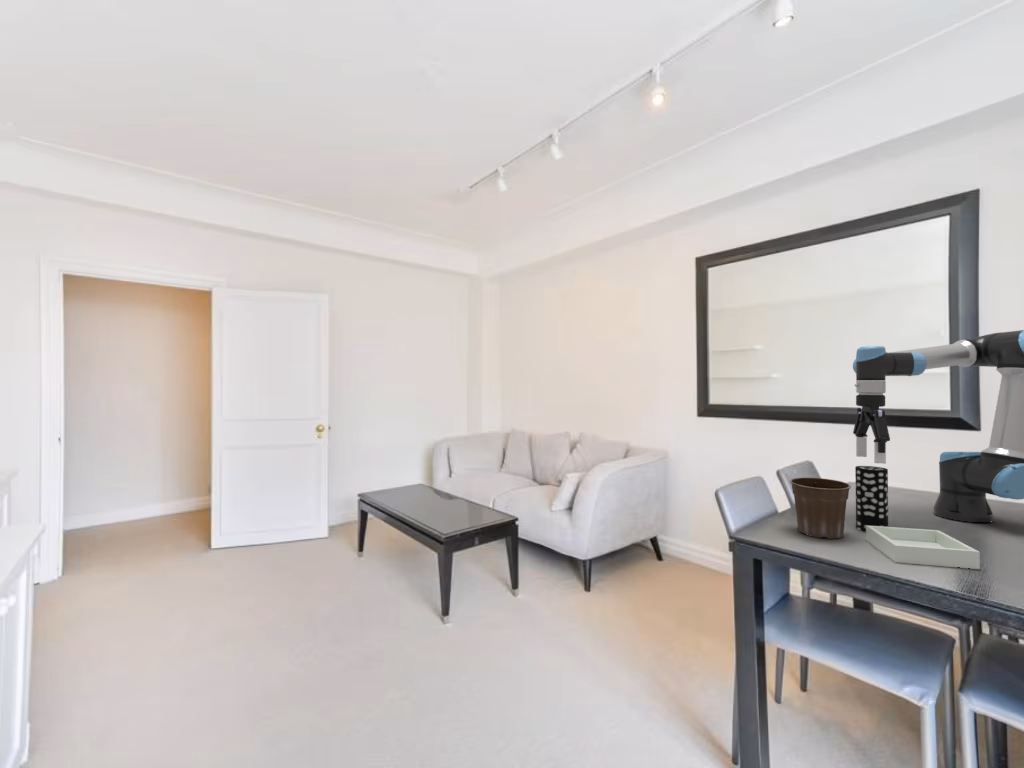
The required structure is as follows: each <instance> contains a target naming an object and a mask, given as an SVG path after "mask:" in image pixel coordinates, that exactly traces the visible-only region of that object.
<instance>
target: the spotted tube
mask: <svg viewBox="0 0 1024 768" xmlns="http://www.w3.org/2000/svg"><path fill="white" fill-rule="evenodd" d="M854 469H855V471H854V472H855V473H854V474H855V528H856V529H857V530H859V531H861V532H865V533H866V525H867V526H882V527H889V469H888V468H886V467H881V466H875V465H874V466H873V465H871V466H870V465H856V466H855V468H854Z"/></svg>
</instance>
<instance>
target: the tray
mask: <svg viewBox="0 0 1024 768" xmlns="http://www.w3.org/2000/svg"><path fill="white" fill-rule="evenodd" d="M865 541H866V542H868V543H869V544H870V545H872V546H873V547H874V548H876V549H877V550H878V551H879V552H881V553H883V554H884V555H885V556H887V558H889V559H891V561H893V562H895V563H899V564H901V563H902V564H912V565H913V564H914V565H921V566H922V565H923V566H933V567H934V566H935V567H947V568H948V567H949V568H957V567H960V569H968V568H970V570H980V567H981V566H980V563H981V562H980V561H981V560H980V555H981V554H980V553H981V552H980V551H979V550H977V549H976V548H973V547H971V546H970V545H967V544H965V543H963V542H961V540H958V539H957V538H954V537H953V536H951V535H948V534H947V533H944V532H943V531H941V530H939V529H927V528H926V529H923V528H910V527H909V528H907V527H894V526H888V527H882V526H867V525H866V532H865Z"/></svg>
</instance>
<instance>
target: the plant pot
mask: <svg viewBox="0 0 1024 768" xmlns="http://www.w3.org/2000/svg"><path fill="white" fill-rule="evenodd" d="M789 483H790V484H791V489H792V494H793V495H794V496H793V497H794V505H795V515H796V523H797V530H798V531H799V533H801V532H802V533H801V534H803V533H805V534H808V535H811V536H810V537H812V536H815V537H814V538H817V537H819V538H818V539H822V538H826V539H828V540H836V539H837V538H838V539H840V538H843V537H844V533H845V522H846V508H847V502H848V501H847V500H848V499H849V492H850V489H851V488H852V485H850V483H847V482H844V481H842V480H841V481H840V480H836V479H830V478H823V477H821V478H820V477H795V478H791V479H790V480H789ZM805 534H804V535H805ZM808 535H807V536H808Z"/></svg>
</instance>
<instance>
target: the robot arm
mask: <svg viewBox="0 0 1024 768" xmlns="http://www.w3.org/2000/svg"><path fill="white" fill-rule="evenodd" d="M954 366H957V367H960V368H970V367H986V368H987V367H990V368H995V367H996V369H995V370H996V371H997V372H998V373H999V374H1000V375H1001V379H1000V384H999V390H998V395H997V402H996V406H995V412H994V417H993V418H994V419H993V423H992V429H991V433H990V434H991V435H990V438H989V439H990V440H989V445H988V447H987V448H985V449H983V450H981V451H944V452H941V453H940V456H939V461H938V466H939V494H938V496H937V498H936V501H935V503H934V505H933V514H934V515H935V516H938V517H941V518H943V517H944V519H947V518H949V519H948V520H951V519H954V520H953V521H957V520H961V521H960V522H963V521H968V522H967V523H972V522H991V521H993V522H994V513H993V511H992V509H991V506H990V504H989V502H988V500H987V494H989V495H992V496H996V497H999V498H1003V499H1009V500H1018V501H1019V500H1024V329H1022V330H1021V329H1020V330H1014V331H1013V330H1012V331H1001V332H996V333H995V332H994V333H989V334H984V335H981V336H976V337H970V338H967V339H966V338H965V339H960V340H957V341H955V342H954V343H951V344H943V345H936V346H928V347H921V348H913V349H906V350H905V349H904V350H899V351H898V350H897V351H890V352H887V351H886V347H885V346H884V345H883V346H882V345H871V346H870V345H868V346H861V347H858V348H857V349H856V356H855V359H854V360H853V363H852V369H853V372H854V373H855V376H856V377H855V379H856V383H854V387H855V388H856V389H855V390H856V393H857V394H856V396H855V406H857V409H856V417H855V422H854V426H853V432H852V433H853V435H855V438H856V442H855V443H856V445H855V447H856V449H855V450H856V452H855V453H856V454H855V455H856V457H862V458H866V457H867V455H868V454H867V452H868V451H867V448H868V445H867V444H868V443H867V440H868V439H867V438H868V434H867V432H868V430H869V429H870V427H871V430H872V431H871V432H872V433H873V436H874V439H873V442H874V445H873V446H874V449H873V450H874V451H873V452H874V454H873V455H874V458H873V459H874V464H887V451H886V450H887V442H890V441H891V437H890V434H889V429H888V423H887V420H886V411H885V410H884V409H880V408H881V407H882V408H883V407H885V406H886V396H885V393H886V387H887V386H886V383H887V382H886V377H898V376H899V377H906V376H907V377H914V376H916V377H917V376H920V375H921V374H924V372H925V371H926V370H931V369H940V368H947V367H954ZM991 523H992V522H991Z"/></svg>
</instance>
